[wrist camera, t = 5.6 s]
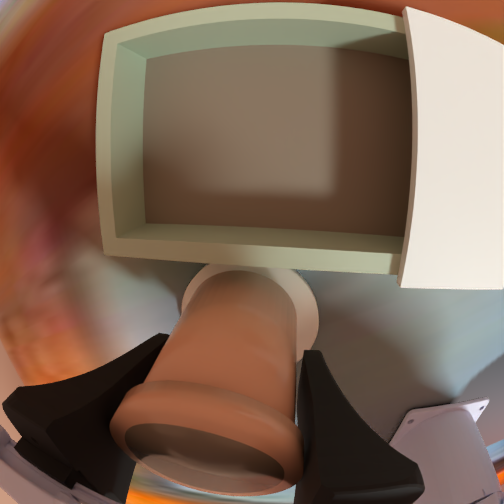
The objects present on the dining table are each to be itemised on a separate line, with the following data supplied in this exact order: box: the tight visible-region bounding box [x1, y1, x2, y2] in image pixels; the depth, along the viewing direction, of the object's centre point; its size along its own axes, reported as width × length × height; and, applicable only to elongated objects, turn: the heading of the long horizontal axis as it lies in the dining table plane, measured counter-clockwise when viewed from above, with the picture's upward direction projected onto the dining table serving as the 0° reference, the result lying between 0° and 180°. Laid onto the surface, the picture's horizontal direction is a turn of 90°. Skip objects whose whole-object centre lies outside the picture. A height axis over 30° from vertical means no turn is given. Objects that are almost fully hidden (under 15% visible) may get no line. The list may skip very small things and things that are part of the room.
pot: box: [109, 270, 304, 496], centre depth 10 cm, size 6×6×8 cm
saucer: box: [181, 264, 319, 362], centre depth 14 cm, size 7×7×1 cm
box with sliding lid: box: [96, 2, 504, 289], centre depth 10 cm, size 11×18×4 cm, turn 89°
